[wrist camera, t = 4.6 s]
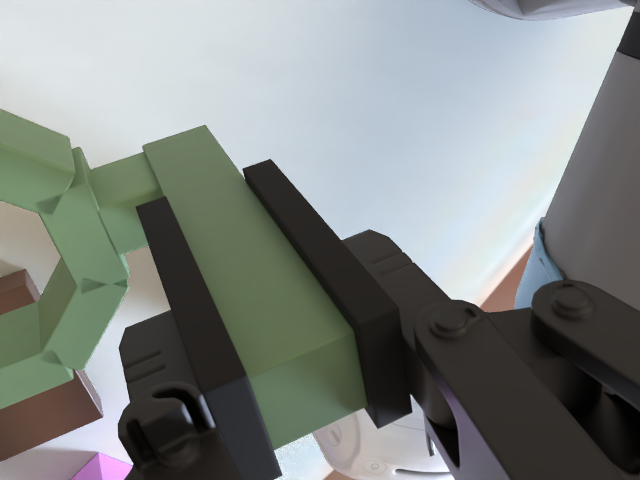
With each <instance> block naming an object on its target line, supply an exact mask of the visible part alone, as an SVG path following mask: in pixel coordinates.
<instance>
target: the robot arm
mask: <svg viewBox="0 0 640 480" xmlns="http://www.w3.org/2000/svg"><path fill="white" fill-rule="evenodd" d="M469 1H470V2H472V3H473V4H475V5H477V6H479V7H481V8H483V9H486V10H488V11H491V12H494V13H497V14H500V15H504V16H507V17H511V18H515V19H520V20H550V19H557V18H563V17H569V16H574V15H580V14H586V13H591V12H597V11H603V10H608V9H614V8H620V7H625V6H632V7H635V8H634V10H633V13H632V16H631V18H630V20H629V23H628V25H627V27H626V30H625V32H624V35H623V37H622V39H621V42H620V44H619V46H618V48H617V50H616V52H615V55H614V57H613V59H612V62H611V64H610V66H609V69H608V71H607V73H606V76H605V78H604V80H603V83H602V85H601V87H600V90H599V92H598V94H597V97H596V99H595V101H594V104H593V106H592V108H591V111H590V113H589V115H588V118H587V120H586V122H585V125H584V127H583V129H582V132H581V134H580V136H579V139H578V141H577V143H576V146H575V148H574V150H573V153H572V155H571V157H570V160H569V162H568V164H567V167H566V169H565V171H564V174H563V176H562V178H561V181H560V183H559V185H558V188H557V190H556V192H555V195H554V197H553V199H552V202H551V204H550V206H549V209H548V211H547V213H546V216H545V217H542V218H541V219H540V221H539V222H538V224H537V225H536V227H535V235H534V238H533V240H534V246H533V249H532V252H531V255H530V257H529V260H528V263H527V265H526V268H525V271H524V273H523V276H522V279H521V282H520V284H519V287H518V290H517V294H516V299H515V310H509V311H503V312H491V313H488V312H484V311H483V310H481V309H480V308H479V307H478V306H476V305H475V304H472V303H469V302H466V301H463V300H451V299H450V298H449V297H448V296H447V295H446V294H445V293H444V292H443V291H442V290H441V289H440V288H439V287H438V286H437V285H436V284H435V283H434V282H433V281H432V280H431V279H430V278H429V277H428V276H427V275H426V274H425V273H424V272H423V271H422V270H421V269H420V268H419V267H418V266H417V265H416V264H415V263H413V262H412V260H411V259H410V258H409V257H408V256H407V255H406V254H405V253H404V252H402V250H401V249H400V248H399V247H398V246H397V245H396V244H395V243H394V242H393V241H392V240H391V239H390V238H389V237H387V236H385V235H382V234H380V233H377V232H375V231H372V230H370V229H369V230H367V231H364V232H362V233H359V234H356V235H354V236H351V237H349V238H346V239H344V240H340V239H339V237H338V236H337V235H336V234H335V233H334V232H333V230H332V229H331V228H330V227H329V226H328V225H327V223H326V222H325V221H324V220H323V219H322V218H321V217H320V215H319V214H318V213H317V212H316V211H315V210H314V208H313V207H312V206H311V205H310V204H309V203H308V202H307V200H306V199H305V198H304V197H303V196H302V195H301V193H300V192H299V191H298V190H297V189H296V188H295V186H294V185H293V184H292V183H291V182H290V181H289V180H288V178H287V177H286V176H285V175H284V174H283V173H282V171H281V170H280V169H279V168H278V167H277V166H276V165H275V163H274V162H273V161H272V160H271V159H269V160H266V161H263V162H260V163H257V164H255V165H252V166H249V167H246V168H243V173H244V177H245V180H246V182H247V184H248V185H249V186H250V188H251V189H252V191H253V192H254V193H255V195H256V196H257V197H258V199H259V200H260V202H261V203H262V204H263V206H264V207H265V209H266V210H267V211H268V213H269V214H270V215H271V217H272V218H273V220H274V221H275V222H276V224H277V225H278V226H279V228H280V229H281V231H282V232H283V233H284V235H285V236H286V238H287V239H288V240H289V242H290V243H291V244H292V246H293V247H294V249H295V250H296V251H297V253H298V254H299V255H300V257H301V258H302V260H303V261H304V262H305V264H306V265H307V266H308V268H309V269H310V271H311V272H312V273H313V275H314V276H315V278H316V279H317V280H318V282H319V283H320V284H321V286H322V287H323V289H324V290H325V291H326V293H327V294H328V295H329V297H330V298H331V300H332V301H333V302H334V304H335V305H336V307H337V308H338V309H339V311H340V312H341V313H342V315H343V316H344V318H345V319H346V320H347V322H348V323H349V324H350V326H351V327H352V329H353V330H354V333H355V339H356V344H357V349H358V354H359V359H360V364H361V370H362V375H363V380H364V385H365V390H366V396H367V401H368V406H367V407H365V408H364V409H365V410H366V412H367V413H368V415H369V417H370V418H371V420H372V421H373V423H374V424H375V426H376V427H377V429H379V428H382V427H384V426H386V425H388V424H390V423H392V422H394V421H396V420H398V419H400V418H402V417H404V416H406V415H408V414H411V413H413V411H412V404H411V396H410V394H411V395H412V397H413V398H414V399H415V401H416V402H417V403H418V405H419V406H420V407H421V409H422V410H423V416H424V425H425V434H426V442H427V448H428V451H429V455H430V457H431V456H433V455H435V446H436V448H437V450H438V451H439V453H440V455H441V457H442V458H443V460H444V462H445V464H446V465H447V467H448V469H449V471H450V472H451V474H452V476H453V478H454V479H455V480H640V0H469ZM135 207H136V210H137V213H138V216H139V219H140V222H141V225H142V228H143V230H144V233H145V236H146V239H147V242H148V245H149V248H150V250H151V253H152V256H153V259H154V262H155V265H156V268H157V271H158V273H159V276H160V279H161V282H162V285H163V288H164V291H165V293H166V296H167V299H168V302H169V305H170V308H171V310H169V311H167V312H164V313H162V314H159V315H157V316H154V317H152V318H149V319H147V320H144V321H142V322H139V323H137V324H134V325H132V326H129V327H127V328H125V331H124V334H123V337H122V340H121V343H120V346H119V352H120V356H121V361H122V366H123V368H124V370H123V371H124V375H125V380H126V383H127V389H128V394H129V399H130V403H129V404H128V406H127V407H126V408H125V409H124V410H123V413H122V415H121V418H120V420H119V422H118V438H119V439H120V441H121V443H122V444H123V446H124V448H125V450H126V451H127V453H128V455H129V457H130V458H131V460H132V462H133V463H134V464H133V466H132V468H131V470H130V472H129V473H128V475H127V476H126V477H125V479H124V480H274V479H276V478H278V477H280V476H282V473H281V470H280V467H279V464H278V461H277V459H276V456H275V453H274V450H273V447H272V444H271V442H270V439H269V436H268V433H267V430H266V427H265V424H264V422H263V419H262V416H261V413H260V410H259V407H258V405H257V402H256V399H255V396H254V393H253V390H252V388H251V385H250V382H249V379H248V376H247V373H246V371H245V369H244V367H243V365H242V362H241V360H240V358H239V356H238V354H237V351H236V349H235V347H234V345H233V342H232V340H231V338H230V336H229V334H228V331H227V329H226V327H225V325H224V323H223V320H222V318H221V316H220V314H219V312H218V309H217V307H216V305H215V303H214V301H213V298H212V296H211V294H210V292H209V290H208V287H207V285H206V283H205V281H204V279H203V276H202V274H201V272H200V270H199V268H198V265H197V263H196V261H195V259H194V256H193V254H192V252H191V250H190V248H189V245H188V243H187V241H186V239H185V237H184V234H183V232H182V230H181V228H180V226H179V223H178V221H177V219H176V217H175V215H174V212H173V210H172V208H171V206H170V204H169V201H168V199H167V197H166V196H164V197H161V198H158V199H155V200H152V201H150V202H147V203H144V204H141V205H138V206H135ZM434 444H435V446H434Z"/></svg>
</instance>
